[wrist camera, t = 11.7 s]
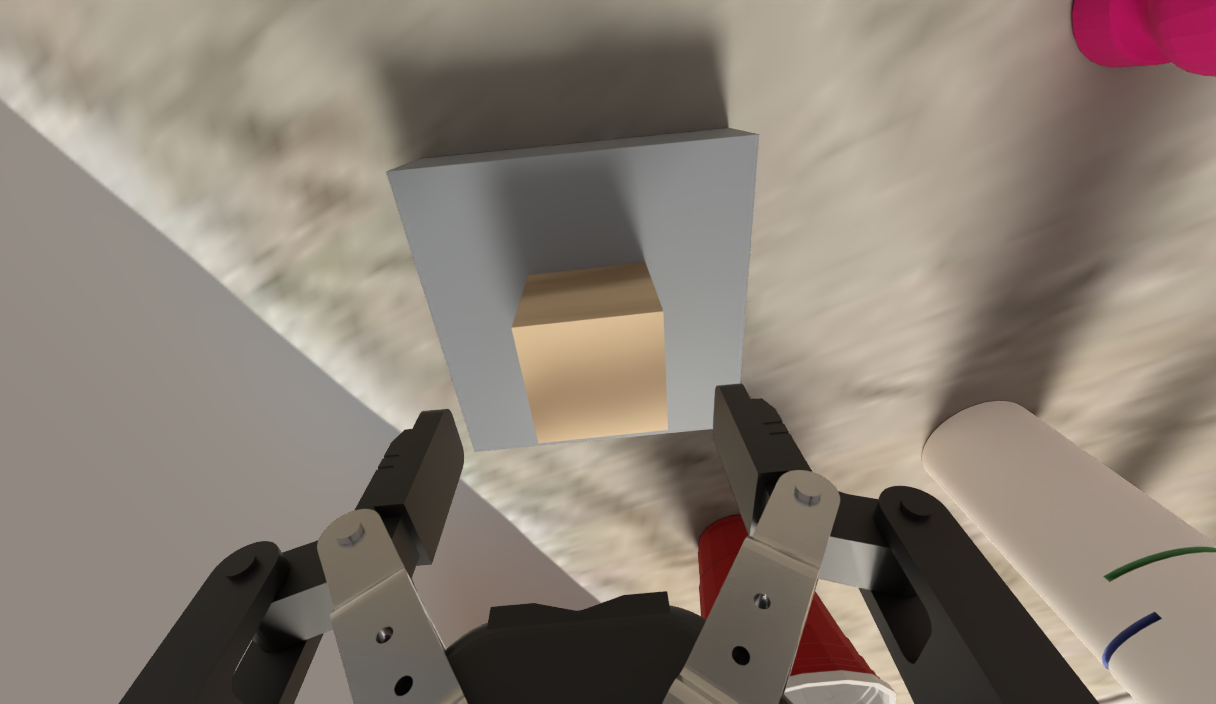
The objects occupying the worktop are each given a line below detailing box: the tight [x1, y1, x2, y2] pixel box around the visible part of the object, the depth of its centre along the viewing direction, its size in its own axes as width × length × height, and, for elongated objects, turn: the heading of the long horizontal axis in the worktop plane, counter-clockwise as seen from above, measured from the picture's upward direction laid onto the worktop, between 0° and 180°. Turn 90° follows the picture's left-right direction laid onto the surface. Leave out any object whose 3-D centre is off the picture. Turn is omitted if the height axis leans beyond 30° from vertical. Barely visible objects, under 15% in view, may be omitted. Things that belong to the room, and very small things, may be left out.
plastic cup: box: [698, 515, 896, 704], centre depth 29 cm, size 11×11×12 cm
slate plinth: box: [386, 128, 759, 452], centre depth 22 cm, size 14×14×4 cm
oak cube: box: [511, 262, 668, 444], centre depth 18 cm, size 5×5×5 cm
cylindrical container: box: [922, 401, 1216, 704], centre depth 20 cm, size 7×7×25 cm
